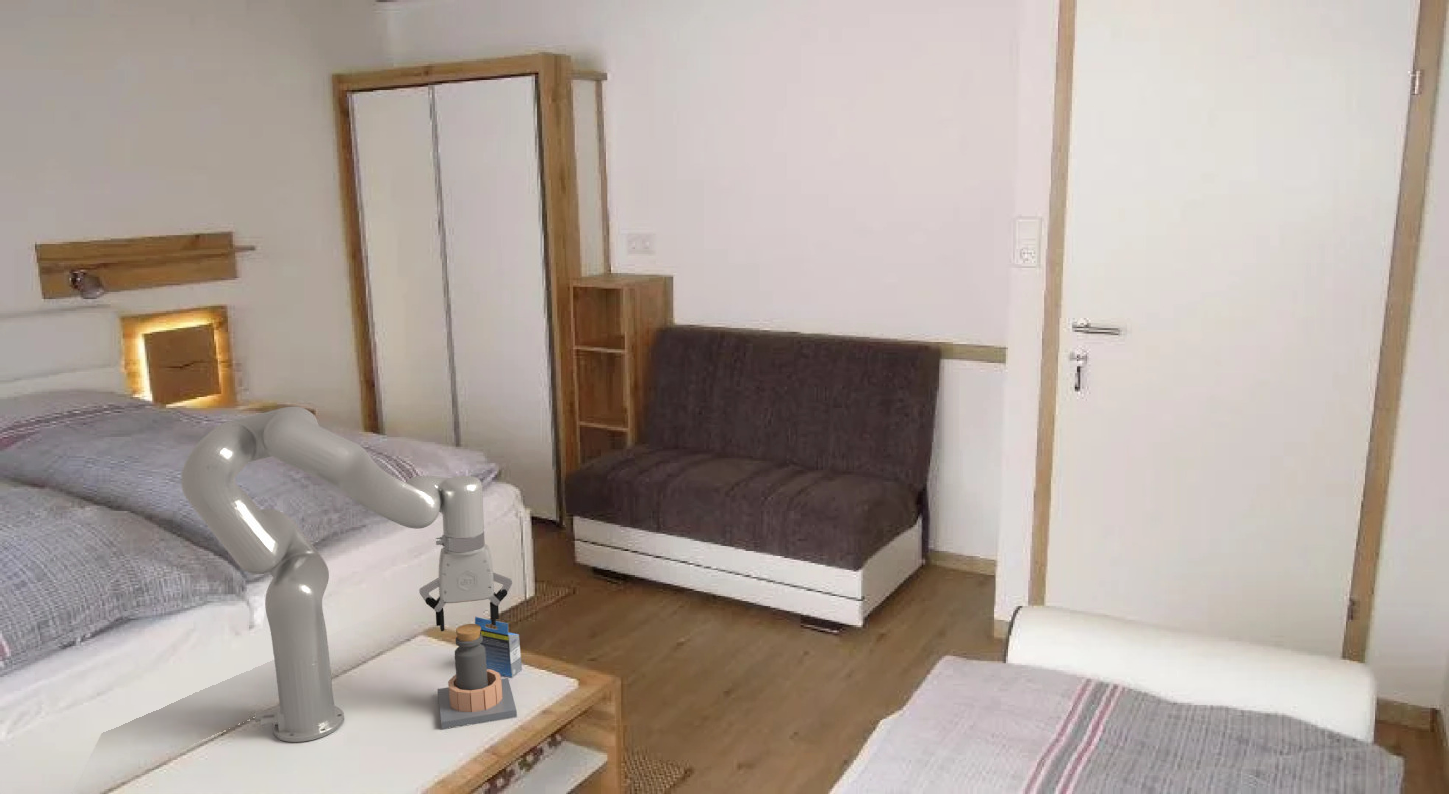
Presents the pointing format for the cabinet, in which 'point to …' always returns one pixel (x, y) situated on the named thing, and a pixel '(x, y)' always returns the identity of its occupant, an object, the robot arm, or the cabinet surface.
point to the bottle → (470, 658)
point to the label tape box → (500, 648)
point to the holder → (476, 702)
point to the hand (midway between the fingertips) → (467, 625)
